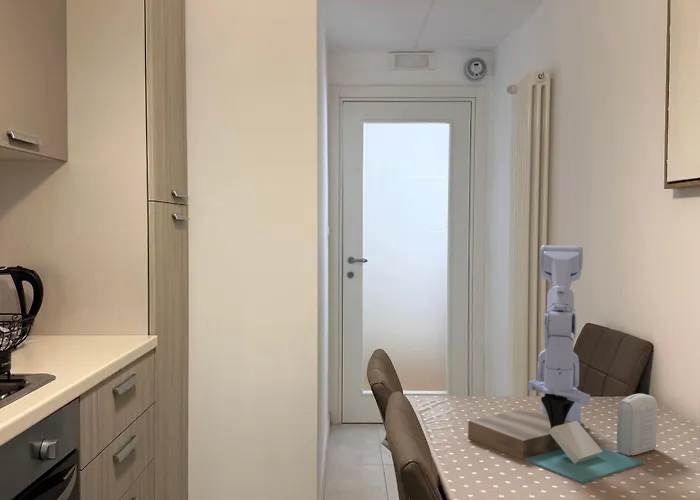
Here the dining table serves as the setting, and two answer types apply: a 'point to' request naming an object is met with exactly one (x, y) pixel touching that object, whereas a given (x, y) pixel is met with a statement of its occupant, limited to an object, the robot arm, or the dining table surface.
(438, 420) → the dining table surface
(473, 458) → the dining table surface
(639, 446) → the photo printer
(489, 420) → the wood grain panel
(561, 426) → the coaster
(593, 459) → the mat
